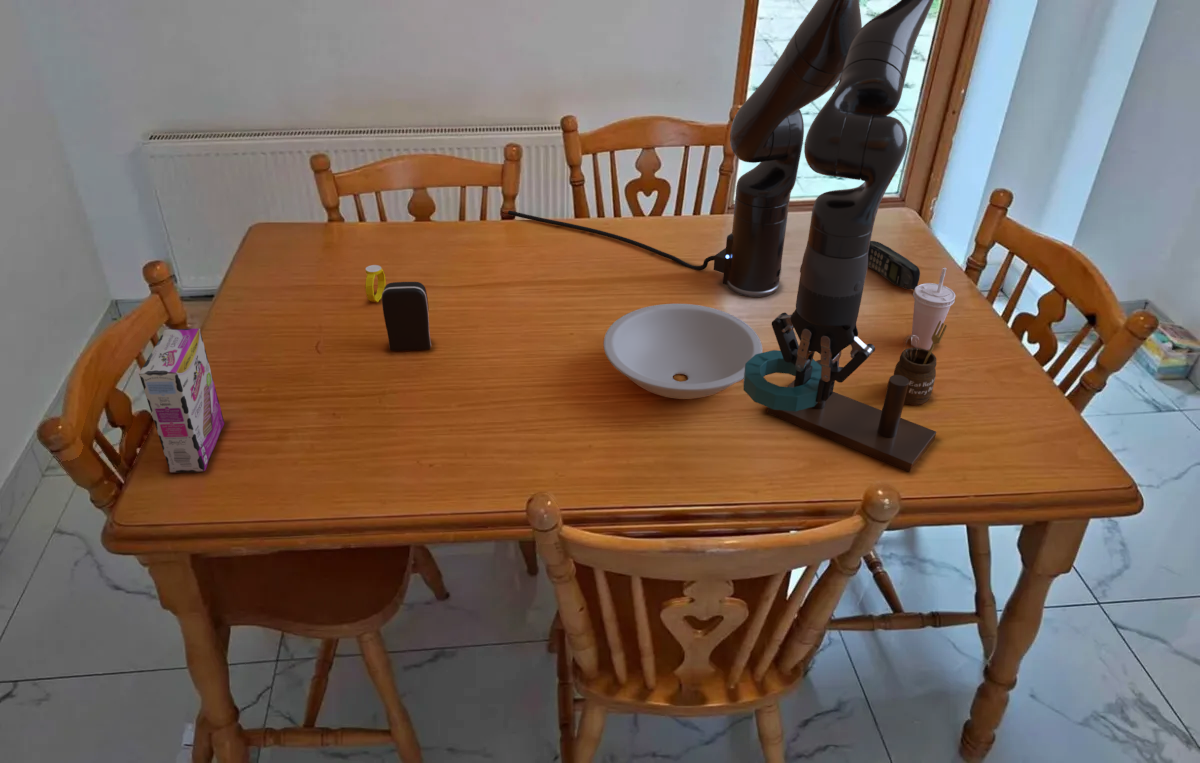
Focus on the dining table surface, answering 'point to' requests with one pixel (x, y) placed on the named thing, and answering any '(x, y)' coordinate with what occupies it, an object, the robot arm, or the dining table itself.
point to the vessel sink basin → (681, 349)
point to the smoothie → (930, 310)
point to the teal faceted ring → (773, 393)
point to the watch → (369, 284)
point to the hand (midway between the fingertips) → (811, 395)
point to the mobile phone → (893, 266)
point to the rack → (867, 425)
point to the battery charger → (406, 316)
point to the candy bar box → (183, 399)
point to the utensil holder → (919, 369)
